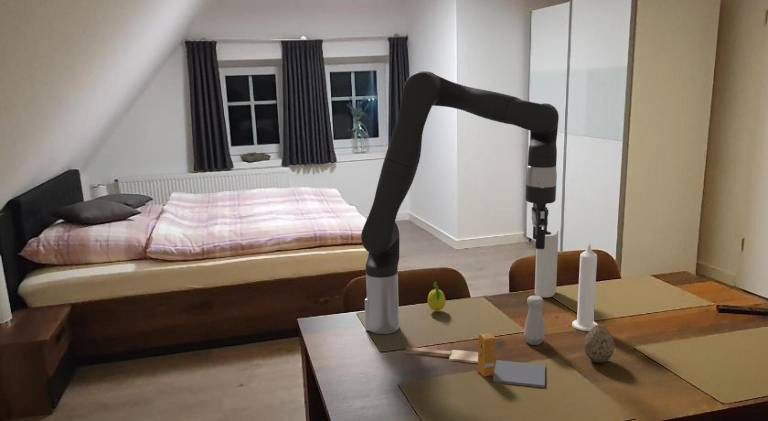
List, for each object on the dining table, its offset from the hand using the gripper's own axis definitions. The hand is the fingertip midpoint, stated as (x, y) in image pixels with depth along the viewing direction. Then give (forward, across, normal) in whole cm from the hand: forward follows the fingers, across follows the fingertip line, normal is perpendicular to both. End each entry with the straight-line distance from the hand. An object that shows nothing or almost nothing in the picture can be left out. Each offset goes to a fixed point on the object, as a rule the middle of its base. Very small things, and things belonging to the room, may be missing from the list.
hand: (538, 243), depth 152 cm
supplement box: (+29, +18, -13) cm, 36 cm away
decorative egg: (+28, +9, +15) cm, 33 cm away
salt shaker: (+28, -1, 0) cm, 29 cm away
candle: (+28, -12, +15) cm, 35 cm away
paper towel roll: (+28, -36, +7) cm, 47 cm away
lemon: (+29, -19, -28) cm, 45 cm away
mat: (+28, +18, -5) cm, 34 cm away
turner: (+29, +10, -24) cm, 39 cm away
